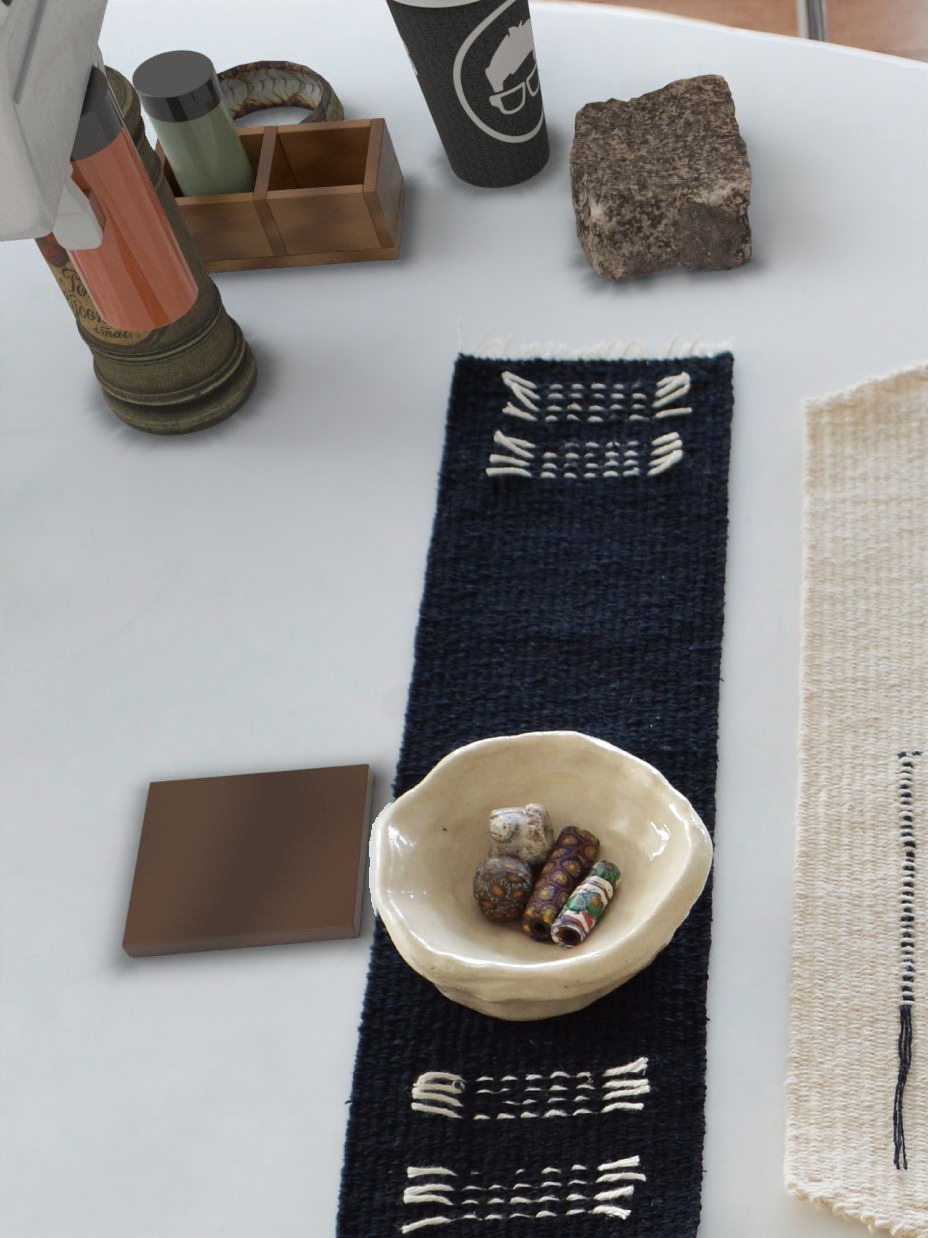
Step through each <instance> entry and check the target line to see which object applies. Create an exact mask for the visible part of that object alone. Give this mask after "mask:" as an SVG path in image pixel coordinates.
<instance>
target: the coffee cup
mask: <svg viewBox="0 0 928 1238" xmlns="http://www.w3.org/2000/svg"><path fill="white" fill-rule="evenodd" d="M385 2H386V4H387V7H388V9H389V12H390V15H391V17H392V19H393V22H394V24H395V27H396V30H397V33H398V34H399V37H400V39H401V42H402V45H403V48H404V50H405V52H406V54H407V57H408V60H409V62H410V65H411V69H412V70H413V72H414V75H415V77H416V80H417V82H418V85H419V89H421V93H422V96H423V98H424V101H425V102H426V106H427V108H428V110H429V113H430V116H431V118H432V121H433V124H434V126H435V128H436V131H437V133H438V134H437V135H438V137H439V139H440V141H441V144H442V146H443V149H444V152H445V154H446V157H447V160H448V162H449V164H450V167H451V169H452V171H453V173H454V174H455V175H456V176H457V177H458V179H460V180H462V181H464V182H466V183H468V184H470V185H473V186H477V187H481V188H482V187H483V188H502V187H509V186H513V185H517V184H521V183H523V182H525V181H528V180H530V179H532V177H534V176H536V175H537V174H539V172H541V171H542V170H543V169H544V167H545V166H546V165H547V163H548V161H549V159H550V156H551V155H550V154H551V153H550V152H551V149H550V141H549V135H548V128H547V122H546V114H545V107H544V101H543V100H544V99H543V95H542V88H541V80H540V74H539V68H538V67H539V66H538V60H537V54H536V53H537V52H536V47H535V46H536V45H535V39H534V33H533V26H532V17H531V12H530V5H529V0H385Z"/></svg>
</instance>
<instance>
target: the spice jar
mask: <svg viewBox="0 0 928 1238" xmlns="http://www.w3.org/2000/svg"><path fill="white" fill-rule="evenodd" d="M70 162H71V165H72V167H73V172H72V176H71V178H72V180H73V181H74V182H75V183H76V185H77V186H78V187H79V188H80V189H81V190H91V189H92V190H93V192H94V195H95V197H96V199H97V201H98V203H99V206H100V210H101V211H102V212H103V213H104V215H105V218H106V223H105V228H104V234H103V239H102V244H101V245H100V247H98V248H96V249H85V250H72V251H71V250H68V249H66V251H67V253H68V255H69V257H70V259H71V261H72V263H73V265H74V267H75V269H76V271H77V273H78V275H79V277H80V279H81V281H82V283H83V284H84V286H85V288H86V290H87V292H88V294H89V296H90V298H91V300H92V302H93V304H94V306H95V308H96V310H97V312H98V314H99V315H100V317H101V318H102V320H103V321H104V322H106V323H107V324H108V325H110V326H112V327H114V328H117V329H120V330H125V331H147V330H152V329H156V328H160V327H163V326H166V325H168V324H170V323H172V322H174V321H176V320H178V319H179V318H181V317H182V316H183V315H185V314H186V313H187V312H188V311H189V310H190V309H191V308H192V306H193V305H194V303H195V301H196V299H197V296H198V285H197V282H196V280H195V278H194V275H193V273H192V271H191V269H190V267H189V264H188V262H187V260H186V258H185V256H184V253H183V251H182V249H181V247H180V244H179V242H178V240H177V238H176V236H175V233H174V231H173V229H172V227H171V225H170V222H169V220H168V218H167V216H166V213H165V211H164V209H163V207H162V205H161V202H160V200H159V198H158V196H157V194H156V191H155V189H154V187H153V185H152V182H151V180H150V178H149V176H148V174H147V171H146V169H145V167H144V165H143V163H142V160H141V158H140V156H139V154H138V151H137V149H136V147H135V145H134V143H133V140H132V138H131V136H130V134H129V132H128V129H127V127H126V125H125V123H124V116H123V113H122V110H121V108H120V106H119V103H118V101H117V99H116V97H115V95H114V92H113V90H112V88H111V86H110V83H109V81H108V79H107V77H106V75H105V74H104V73H103V72H102V71H101V70H100V69H99V68H97V67H96V66H94V65H92V69H91V74H90V78H89V82H88V86H87V90H86V94H85V99H84V103H83V107H82V111H81V115H80V119H79V124H78V128H77V132H76V136H75V140H74V144H73V149H72V153H71V157H70Z"/></svg>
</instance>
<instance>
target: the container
mask: <svg viewBox="0 0 928 1238" xmlns="http://www.w3.org/2000/svg"><path fill="white" fill-rule="evenodd" d="M104 67H105V72H106V77H107V79H108V81H109V83H110V86H111V88H112V90H113V92H114V95H115V97H116V99H117V101H118V103H119V106H120V108H121V110H122V113H123V116H124V123H125V125H126V127H127V129H128V132H129V134H130V136H131V138H132V140H133V143H134V145H135V147H136V149H137V151H138V154H139V156H140V158H141V160H142V163H143V165H144V167H145V169H146V171H147V174H148V176H149V178H150V180H151V182H152V185H153V187H154V189H155V191H156V194H157V196H158V198H159V200H160V202H161V205H162V207H163V209H164V211H165V213H166V216H167V218H168V220H169V222H170V225H171V227H172V229H173V231H174V233H175V236H176V238H177V240H178V242H179V244H180V247H181V249H182V251H183V253H184V256H185V258H186V260H187V262H188V264H189V267H190V269H191V271H192V273H193V275H194V278H195V280H196V282H197V285H198V296H197V299H196V301H195V303H194V305H193V306H192V308H191V309H190V310H189V311H188V312H187V313H186V314H185V315H183V316H182V317H181V318H179V319H178V320H176V321H174V322H172V323H170V324H168V325H166V326H163V327H160V328H156V329H152V330H147V331H125V330H120V329H117V328H114V327H112V326H110V325H108V324H107V323H106V322H104V321H103V320H102V318H101V317H100V315H99V314H98V312H97V310H96V308H95V306H94V304H93V302H92V300H91V298H90V296H89V294H88V292H87V290H86V288H85V286H84V284H83V283H82V281H81V279H80V277H79V275H78V273H77V271H76V269H75V267H74V265H73V263H72V261H71V259H70V257H69V255H68V253H67V251H66V249H65V248H63V247H62V246H61V245H60V244H59V243H58V241H57V240H56V238H55V236H54V234H53V232H51V233H50V234H48V235H47V236H44V237H40V238H33V239H34V241H35V243H36V246H37V247H38V250H39V252H40V253H41V255H42V257H43V259H44V261H45V263H46V264H47V267H48V268H49V270H50V271H51V274H52V275H53V277H54V279H55V281H56V283H57V284H58V287H59V289H60V291H61V293H62V294H63V297H64V298H65V300H66V303H67V305H68V306H69V308H70V310H71V312H72V314H73V316H74V319H75V324H76V327H77V331H78V334H79V336H80V338H81V339H82V341H83V342H84V344H86V345H87V347H88V349H89V350H90V353H91V355H92V357H93V358H92V368H93V373H94V376H95V378H96V380H97V382H98V384H99V385H100V386H101V393H102V395H103V398H104V401H105V402H106V404H107V406H108V408H109V409H110V410H111V411H112V412H113V413H114V415H116V417H117V418H119V420H120V421H122V422H123V423H125V424H126V425H127V426H130V427H131V428H133V429H135V430H138V431H141V432H144V433H148V434H155V435H165V436H166V435H181V434H182V435H183V434H188V433H193V432H198V431H201V430H204V429H207V428H209V427H213V426H214V425H216V424H218V423H220V422H222V421H224V420H226V419H227V418H229V417H230V416H232V415H233V414H235V413H236V412H237V411H238V410H240V409H241V408H242V406H243V405H245V403H247V401H248V400H249V399H250V397H251V396H252V394H253V392H254V390H255V388H256V385H257V381H258V364H257V363H258V362H257V357H256V355H255V352H254V350H253V348H252V347H251V345H250V343H249V342H248V341H247V340H246V339H245V334H244V331H243V330H242V328H241V326H240V325H239V323H238V322H237V320H235V319H234V318H233V317H232V316H230V315H229V314H228V312H227V310H226V307H225V305H224V302H223V300H222V294H221V291H220V289H219V287H218V285H217V283H216V282H215V281H214V280H213V278H212V277H211V276H210V275H209V273H207V271H206V268H205V266H204V264H203V262H202V260H201V258H200V256H199V253H198V251H197V248H196V246H195V244H194V241H193V239H192V237H191V235H190V233H189V230H188V228H187V226H186V223H185V221H184V219H183V216H182V214H181V211H180V209H179V206H178V204H177V202H176V200H175V197H174V195H173V193H172V190H171V188H170V186H169V184H168V181H167V179H166V177H165V175H164V173H163V165H162V162H161V159H160V157H159V156H158V154H157V153H156V152H155V149H154V148H153V147H152V146H151V142H150V141H149V139H148V136H147V134H146V125H145V120H144V118H143V116H142V104H141V102H140V99H139V96H138V94H137V92H136V90H135V88H134V86H133V83H132V82H131V81H130V80H129V79H128V78H127V77H126V75H123V73H121V72H120V71H119V70H117V69H115V68H113V67H112V66H109V65H106V64H104Z"/></svg>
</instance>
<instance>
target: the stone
mask: <svg viewBox="0 0 928 1238" xmlns="http://www.w3.org/2000/svg"><path fill="white" fill-rule="evenodd" d="M731 91H732V90H731V89H730V87H729V83H728V82H727V80H725V77H724V76H722V75H719V74H714V73H711V74H709V73H708V74H701V75H697V76H693V77H690V78H680V79H676V80H674V81H671V82H669V83H667V84H666V85H665V86H663V87H661V88H658V89H655V90H653V91H650V92H646V93H644V94H642V95H640V96H639V97H630V99H629V100H628V101H625V100H621V99H617V98H614V97H610V98H609V99H606V100H605V101H593V102H592V101H591V102H587V103H585V104H584V106H583V107H581V109H579V110H578V111H577V112H576V113H575V117H574V136H573V139H571V141H572V147H571V149H570V151H569V155H568V160H569V161H568V163H569V175H570V189H571V203H572V208H573V212H574V216H575V217H574V218H575V226H576V237H577V239H578V241H579V243H580V247H581V249H582V250H583V252H584V254H585V260H586V262H587V263H588V265H589V267H590V268H591V269H593V270H594V271H595V272H596V273H597V274H598V275H599V277H601V278H603V279H605V280H606V279H607V280H609V281H619V280H621V279H623V278H627V277H628V278H629V277H641V276H646V275H651V274H654V273H658V272H661V271H666V270H671V269H676V268H680V267H683V268H686V269H692V268H693V269H695V270H704V269H706V270H724V271H729V270H732V269H733V268H735V267H739V266H742V265H745V264H747V263H748V262H749V261H750V259H751V258H752V255H753V252H752V251H753V249H752V248H753V247H752V243H753V241H752V232H753V231H752V230H753V229H752V228H751V224H750V219H749V214H748V208H749V206H750V205H751V202H750V197H751V187H752V181H753V175H752V171H751V170H752V169H751V168H752V167H751V166H752V165H751V162H750V161H749V160H748V159H749V158H748V156H749V155H748V150H747V142H746V141H745V140H744V138H743V137H742V136H741V133H740V125H739V123H738V120H737V118H736V105H735V100H734V98H733V96H732V95H733V93H732V92H731Z"/></svg>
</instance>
